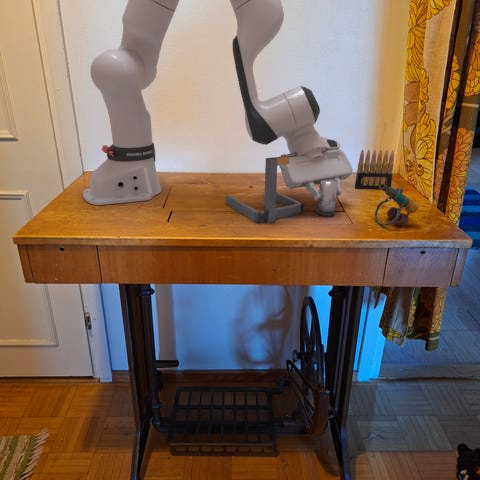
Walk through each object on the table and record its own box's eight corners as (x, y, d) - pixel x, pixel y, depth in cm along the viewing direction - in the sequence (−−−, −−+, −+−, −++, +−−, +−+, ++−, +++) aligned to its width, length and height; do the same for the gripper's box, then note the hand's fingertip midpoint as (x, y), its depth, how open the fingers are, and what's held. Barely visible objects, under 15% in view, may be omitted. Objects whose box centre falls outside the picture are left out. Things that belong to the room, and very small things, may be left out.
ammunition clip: (389, 188, 136) (395, 149, 131) (390, 190, 134) (396, 150, 129) (354, 187, 136) (358, 148, 131) (355, 189, 135) (360, 150, 130)
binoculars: (399, 238, 106) (426, 204, 104) (372, 220, 103) (399, 185, 101) (382, 223, 115) (407, 192, 112) (356, 207, 112) (381, 174, 109)
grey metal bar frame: (260, 225, 107) (262, 161, 101) (225, 203, 122) (225, 146, 115) (307, 215, 114) (311, 154, 107) (269, 195, 128) (271, 140, 122)
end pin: (324, 218, 112) (327, 184, 108) (313, 212, 116) (315, 179, 112) (338, 215, 114) (342, 181, 110) (326, 209, 118) (329, 177, 114)
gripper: (280, 148, 109) (302, 197, 105) (343, 140, 118) (365, 185, 114) (270, 162, 114) (290, 209, 110) (330, 153, 123) (351, 196, 120)
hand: (329, 196), depth 112 cm, fingers open, 5 cm apart
